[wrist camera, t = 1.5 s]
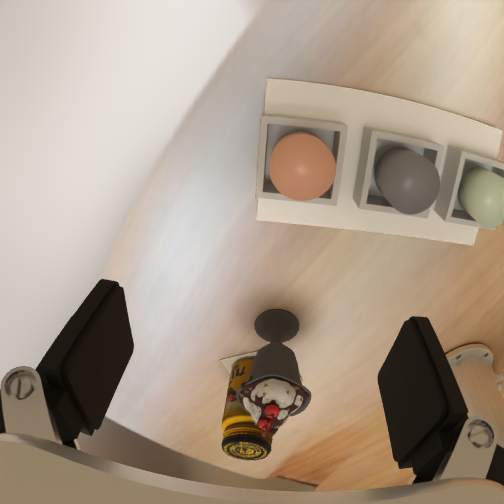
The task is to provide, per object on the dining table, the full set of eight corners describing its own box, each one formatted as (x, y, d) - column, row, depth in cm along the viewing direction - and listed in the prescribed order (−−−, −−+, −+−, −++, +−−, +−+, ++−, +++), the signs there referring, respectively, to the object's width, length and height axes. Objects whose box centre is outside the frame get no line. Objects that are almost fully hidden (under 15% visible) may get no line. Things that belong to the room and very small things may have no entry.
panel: (494, 128, 22) (518, 136, 19) (467, 239, 28) (485, 258, 24) (266, 78, 23) (263, 76, 20) (256, 213, 29) (252, 232, 26)
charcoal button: (428, 152, 22) (445, 161, 19) (418, 203, 24) (432, 218, 21) (379, 142, 22) (391, 149, 19) (369, 196, 24) (379, 210, 21)
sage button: (499, 172, 21) (518, 182, 19) (487, 217, 23) (504, 231, 21) (464, 161, 21) (482, 171, 19) (452, 210, 23) (468, 224, 21)
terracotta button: (333, 134, 22) (340, 141, 19) (325, 190, 24) (331, 204, 21) (273, 128, 22) (272, 133, 19) (268, 184, 24) (266, 197, 22)
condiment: (219, 359, 39) (201, 440, 28) (282, 343, 37) (279, 431, 26) (244, 391, 42) (234, 467, 31) (302, 379, 39) (303, 459, 29)
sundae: (274, 291, 33) (267, 417, 20) (318, 325, 35) (329, 445, 22) (234, 325, 36) (211, 442, 23) (277, 354, 37) (271, 467, 24)
